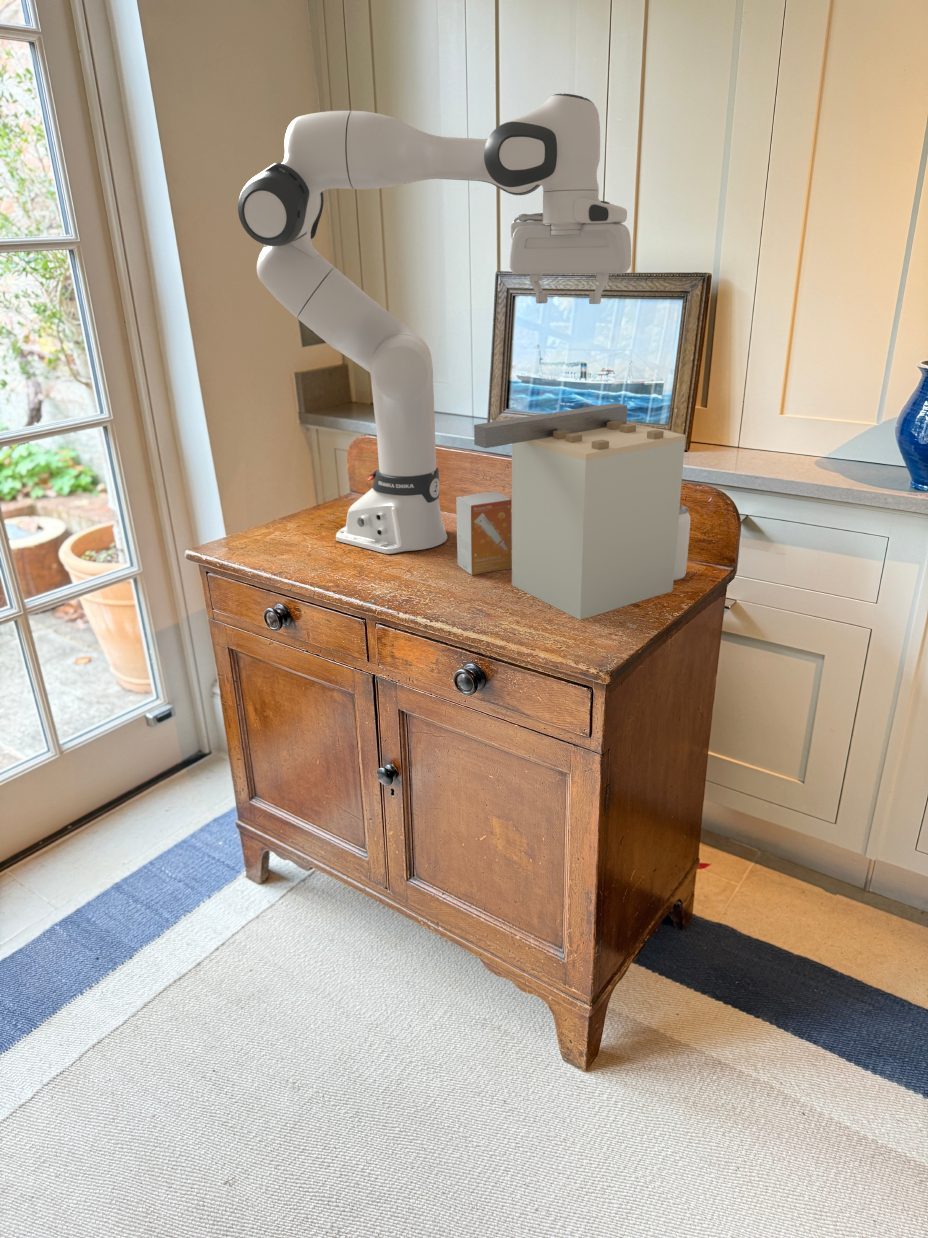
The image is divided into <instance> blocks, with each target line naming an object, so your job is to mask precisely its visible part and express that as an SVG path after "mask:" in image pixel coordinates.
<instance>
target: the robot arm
mask: <svg viewBox="0 0 928 1238" xmlns="http://www.w3.org/2000/svg"><path fill="white" fill-rule="evenodd" d="M600 124H601V123H600V114H599V111H598V108H597V107H596V105H595V103H593V101H592V100H590V99H588V98H587V97H584V96H582V95H577V94H573V93H572V94H571V93H554V94H552V95H550V96H549V97H548V98H547V100H545V101H544V102H543V103H541V105H539V106H537V107H536V108H535V109H533V110H531V111H530V112H528V113H526V114H523V115H522V116H519V117H517V118H514V119H511V120H509V121H507V122H504V123H502V124H500V125H499V126H497V127H496V128H494V129H493V131H492V132H491V133H490V135H489V136H488V138H472V137H471V138H470V137H453V136H440V135H435V134H431V133H428V132H425V131H422V130H420V129H418V128H416V127H414V126H411V125H409V124H408V123H406V122H404V121H403V120H401V119H399V118H396V117H394V116H393V117H392V116H389V115H386V114H382V113H376V112H373V111H364V110H327V111H320V112H314V113H313V112H312V113H308V114H307V113H306V114H304V115H300V116H296V117H295V118H294V119H293V120H292V121H291V122H290V123H289V125H288V126H287V129H286V132H285V135H284V141H283V142H284V144H283V145H284V157H283V160H282V162H274V163H273V164H271V165H270V166H268V167H267V168H265V169H263V170H262V171H261V172H259V173H257V174H255V175H254V176H253V177H252V178H250V180H248V181H247V182H246V184H245V185H244V186H243V188H242V190H241V192H240V195H239V198H238V202H237V214H238V218H239V221H240V223H241V225H242V227H243V229H244V231H245V233H247V234H248V235H249V237H251V238H252V239H253V240H254V241H256V242H258V243H260V244H261V245H263V248H262V250H261V251H260V253H259V255H258V259H257V262H256V274H257V277H258V279H259V281H260V282H261V284H262V285H264V287H265V289H266V290H267V291H268V292H269V293H270V294H271V295H272V296H273V297H274V298H275V300H276V301H278V303H280V304H281V306H283V307H284V308H285V309H286V310H287V311H288V312H289V313H290V314H292V316H294V317H295V318H296V319H298V320H299V322H301V323H302V324H303V325H305V326H306V327H307V328H308V329H309V330H310V331H312V332H313V333H314V334H316V335H317V336H318V337H319V338H320V339H322V340H323V341H324V342H325V343H326V344H328V345H329V346H330V347H331V348H332V349H334V350H335V351H337V352H339V353H341V354H342V355H344V356H345V357H347V358H349V359H350V360H351V361H353V362H355V364H357V365H358V366H360V367H362V368H363V370H366V371H367V372H368V373H369V374H370V381H371V393H372V401H373V402H372V403H373V413H374V421H375V428H376V442H377V443H376V444H377V457H378V459H377V460H378V469H377V470H375V471H373V472H372V473H370V474H368V475H367V477H369V478H368V479H367V481H368V482H370V481H373V483H372V486H371V487H372V488H370V490H368V491H367V492H365V493H364V495H362V496H361V497H360V498H358V499H357V500H356V501H355V502H353V504H352V505H351V506H350V507H349V508H348V511H347V516H346V522H345V523H346V524H345V526H343V527H342V528H340V529H339V530H338V531H337V532H336V535H335V541H336V542H340V543H345V544H347V545H352V546H356V547H359V548H363V549H367V550H372V551H374V552H379V553H382V554H385V555H386V554H388V555H390V554H397V553H403V552H409V551H418V550H419V551H420V550H426V549H431V548H434V547H437V546H439V545H442V544H444V543H445V542H446V541H447V540H448V534H447V532H446V529H445V526H444V522H443V516H442V511H441V507H440V490H441V487H440V486H441V485H440V470H439V468H438V467H437V452H436V451H437V449H436V446H437V445H436V425H435V421H436V420H435V398H434V397H435V396H434V391H435V389H434V370H433V369H434V367H433V366H434V365H433V359H432V354H431V351H430V348H429V346H428V344H427V343H426V341H424V339H423V338H422V337H421V336H420V335H418V334H417V333H416V332H415V331H413V330H412V329H411V328H410V327H408V326H407V324H405V323H403V322H402V321H401V320H400V319H399V318H397V317H396V316H395V315H393V314H392V313H391V312H389V310H387V309H385V308H384V307H383V306H382V305H380V304H379V303H378V302H377V301H375V300H374V299H373V298H371V296H369V295H367V294H366V292H364V290H362V289H361V288H360V287H359V286H357V285H356V284H355V283H354V282H353V281H352V280H350V279H349V277H347V276H346V275H345V274H343V273H342V272H341V271H340V270H339V269H338V268H337V267H335V266H334V265H333V264H332V263H330V261H328V260H327V259H326V258H324V257H323V256H322V255H321V254H320V253H319V252H318V251H317V250H316V248H315V247H314V244H313V242H312V239H314V238H315V237H316V233H317V230H318V228H319V227H318V226H319V222H320V220H321V216H322V214H323V209H324V204H325V203H324V202H325V197H324V196H325V194H324V191H326V190H333V189H346V190H376V189H377V190H378V189H387V188H392V187H396V186H398V187H399V186H402V185H406V184H411V183H415V182H421V181H427V180H454V181H455V180H456V181H474V182H482V183H483V182H484V183H487V184H491V185H493V186H495V187H496V188H498V189H500V190H501V191H503V192H505V193H507V194H509V195H513V196H526V195H529V194H531V193H534V192H536V190H537V189H539V188H540V187H542V191H543V192H542V212H538V213H537V212H536V213H530V214H529V213H521V214H519V215H518V216H517V217H515V218H514V219H513V220H512V221H511V224H510V238H511V245H510V246H511V247H510V253H509V254H510V255H509V269H510V271H511V272H512V274H513V275H529V283H530V285H531V288H532V289H533V291H534V293H535V303H536V304H547V303H548V300H549V299H548V296H549V293H548V291H544V290H543V288H542V285H541V283H540V282H542V281H543V275H582V274H583V275H596V278H595V280H596V282H598V284H597V285H596V287H595V290H594V291H591V292H589V293H588V297H589V300H588V303H589V305H600V304H601V302H602V293H603V291H604V289H605V288H606V285H607V284H608V282H609V277H610V276H609V274H610V275H611V274H616V275H617V274H626V273H627V272H628V271H629V270H630V268H631V265H632V241H631V239H632V238H631V234H630V230H629V228H628V227H627V226H626V225H625V224H623V223H625V222H627V219H628V211H627V209H626V208H625V207H623V206H619V205H615V204H613V203H610V202H609V201H606V200H600V198H599V194H600V193H599V190H600V188H599V183H598V177H597V176H598V175H597V174H598V167H599V163H600V160H601V125H600ZM367 477H366V478H367Z"/></svg>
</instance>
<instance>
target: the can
mask: <svg viewBox="0 0 928 1238" xmlns="http://www.w3.org/2000/svg"><path fill="white" fill-rule="evenodd" d="M689 511H690V509H689V507H687V506H685V505H683V504H682V505H681V504H680V508H679V520H678V532H677V544H676V556H675V568H674V580H673V582H676V581H680V580H682V579H683V578H684V577H685V576H687V575H686V574H687V565H688V556H689V555H688V553H689V543H690V531H691V522H692V521H691V515H690V513H689Z"/></svg>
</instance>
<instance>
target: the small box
mask: <svg viewBox="0 0 928 1238" xmlns="http://www.w3.org/2000/svg"><path fill="white" fill-rule="evenodd" d="M455 498H456V499H455V500H456V501H455V503H456V505H455V506H456V510H455V511H456V544H457V545H456V546H457V547H456V549H457V552H456V553H457V565H458V567H460V568H461V569H463V570H464V571H465V572H467V573H468V574H470V576H475V575H479V574H486V573H490V572H491V573H492V572H496V571H502V570H509V569H512V550H511V512H512V498H509V497H508V496H506V495H505V494H502V493H501V492H498V491H497V490H494V491H489V492H488V491H487V492H481V493H479V492H478V493H473V494H469V495H463V496H462V495H461V496H456V497H455Z"/></svg>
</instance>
